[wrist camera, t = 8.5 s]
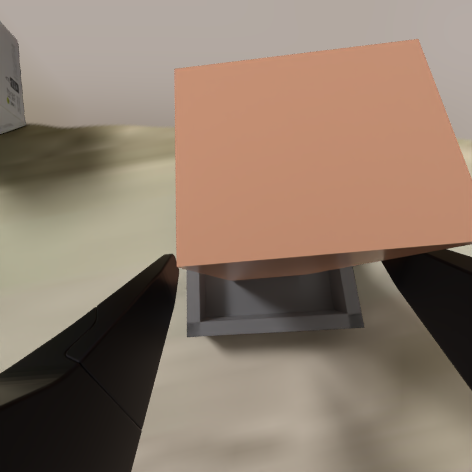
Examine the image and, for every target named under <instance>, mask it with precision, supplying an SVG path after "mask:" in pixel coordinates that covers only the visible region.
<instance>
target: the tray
mask: <svg viewBox="0 0 472 472" xmlns="http://www.w3.org/2000/svg"><path fill="white" fill-rule="evenodd" d="M347 328H364V323H363V318H362V313H361V308H360V303H359V297H358V292H357V287H356V282H355V277H354V271H353V266H350V267H345V268H339V269H334V270H328V271H323V272H318V273H312V274H307V275H301V276H291V277H278V278H266V279H254V280H242V281H230V280H226V279H222V278H218V277H214V276H210V275H206V274H202V273H198V272H194V271H190V270H187V337H197V336H216V335H234V334H253V333H272V332H291V331H309V330H328V329H347Z"/></svg>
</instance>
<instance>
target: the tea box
mask: <svg viewBox="0 0 472 472" xmlns="http://www.w3.org/2000/svg"><path fill="white" fill-rule="evenodd" d="M22 94H23V92H22V84H21V70H20V64H19V46H18V42H17V39H16V38H15V37H14V36H13V35H12V34H11V33H10V32H9V31H8V30H7V28H6V27H5V26H4V25H3V24H2V23H1V22H0V134H2V133H5V132H8V131H11V130H14V129H17V128H19V127H22V126H25V125H26V122H25V117H24V103H23V96H22Z"/></svg>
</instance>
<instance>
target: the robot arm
mask: <svg viewBox="0 0 472 472" xmlns="http://www.w3.org/2000/svg"><path fill="white" fill-rule="evenodd" d="M382 263H383V265H384V267H385V268H386V270H387V272H388V274H389V275H390V277H391V279H392V280H393V282H394V284H395V285H396V287H397V288H398V290H399V291H400V292H401V294H402V295H403V297H404V298H405V299H406V301H407V302H408V303H409V305H410V306H411V308H412V309H413V310H414V312H415V313H416V315H417V316H418V317H419V319H420V320H421V321H422V323H423V324H424V326H425V327H426V328H427V330H428V331H429V332H430V334H431V335H432V337H433V338H434V339H435V341H436V342H437V343H438V345H439V346H440V348H441V349H442V350H443V352H444V353H445V354H446V356H447V357H448V359H449V360H450V361H451V363H452V364H453V365H454V367H455V368H456V370H457V371H458V372H459V374H460V375H461V377H462V378H463V379H464V381H465V382H466V383H467V385H468V386H469V388H470V389H471V390H472V257H470V256H467V255H463V254H460V253H457V252H454V251H451V250H447V249H443V250H437V251H432V252H427V253H421V254H416V255H410V256H405V257H399V258H394V259H388V260H383V261H382ZM178 277H179V268H178V267H177V262H176V258H175V256H174V255H173V254H165V255H163V256H162V257H160V258H159V259H158V260H156V261H155V262H154V263H152V264H151V265H150V266H149V267H147V268H146V269H145V270H143V271H142V272H141V273H139V274H138V275H137V276H135V277H134V278H133V279H132V280H130V281H129V282H128V283H126V284H125V285H124V286H122V287H121V288H120V289H118V290H117V291H116V292H114V293H113V294H112V295H111V296H109V297H108V298H107V299H105V300H104V301H103V302H101V303H100V304H99V305H98V306H97V307H95V308H93V309H92V310H91V311H90V312H88V313H87V314H86V315H84V316H83V317H82V318H80V319H79V320H78V321H76V322H75V323H74V324H72V325H71V326H69V327H68V328H67V329H65V330H64V331H62V332H61V333H59V334H58V335H56V336H55V337H54V338H52V339H51V340H49V341H48V342H46V343H45V344H43V345H42V346H40V347H39V348H37V349H36V350H35V351H33V352H32V353H30V354H29V355H27V356H26V357H24V358H23V359H21V360H20V361H18V362H17V363H15V364H14V365H12V366H11V367H10V368H8V369H6V370H5V371H3V372H2V373H0V472H131V470H132V466H133V463H134V459H135V455H136V451H137V447H138V443H139V440H140V436H141V432H142V430H141V429H142V427H143V424H144V420H145V416H146V412H147V408H148V405H149V401H150V397H151V393H152V389H153V385H154V382H155V378H156V374H157V370H158V366H159V362H160V359H161V355H162V351H163V347H164V343H165V340H166V336H167V332H168V328H169V324H170V320H171V317H172V313H173V309H174V305H175V299H176V292H177V284H178Z"/></svg>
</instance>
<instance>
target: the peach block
mask: <svg viewBox="0 0 472 472" xmlns="http://www.w3.org/2000/svg"><path fill="white" fill-rule="evenodd" d="M175 157H176V248H177V267H178V268H182V269H186V270H190V271H194V272H198V273H202V274H206V275H210V276H214V277H218V278H222V279H226V280H230V281H242V280H254V279H266V278H278V277H291V276H301V275H307V274H312V273H318V272H323V271H328V270H334V269H339V268H345V267H350V266H356V265H361V264H367V263H372V262H378V261H383V260H388V259H394V258H399V257H405V256H410V255H416V254H421V253H427V252H432V251H437V250H443V249H448V248H454V247H459V246H465V245H470V244H472V179H471V176H470V173H469V171H468V168H467V165H466V163H465V160H464V158H463V155H462V152H461V150H460V147H459V145H458V142H457V139H456V137H455V134H454V132H453V129H452V126H451V124H450V121H449V118H448V116H447V113H446V111H445V108H444V105H443V103H442V100H441V97H440V95H439V92H438V90H437V87H436V84H435V82H434V79H433V77H432V74H431V71H430V69H429V66H428V63H427V61H426V58H425V55H424V53H423V50H422V48H421V45H420V42H419V40H418V39H414V40H406V41H398V42H390V43H382V44H374V45H366V46H357V47H349V48H341V49H333V50H325V51H316V52H309V53H300V54H292V55H284V56H276V57H267V58H259V59H251V60H243V61H235V62H227V63H220V64H219V63H218V64H211V65H203V66H194V67H186V68H178V69H175Z"/></svg>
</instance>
